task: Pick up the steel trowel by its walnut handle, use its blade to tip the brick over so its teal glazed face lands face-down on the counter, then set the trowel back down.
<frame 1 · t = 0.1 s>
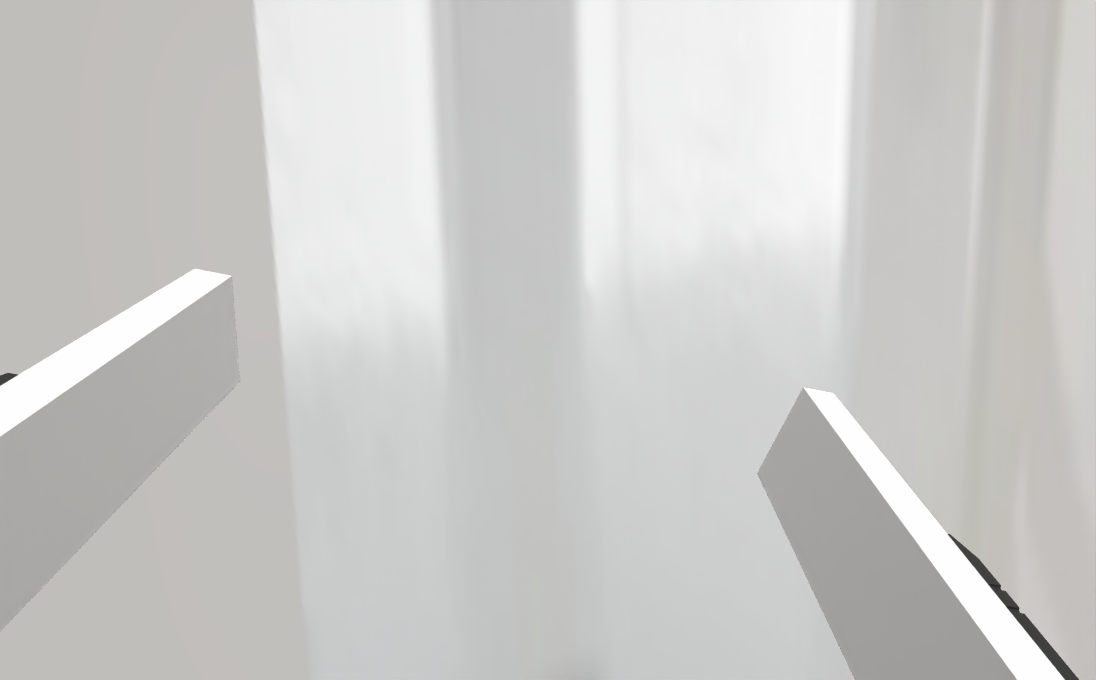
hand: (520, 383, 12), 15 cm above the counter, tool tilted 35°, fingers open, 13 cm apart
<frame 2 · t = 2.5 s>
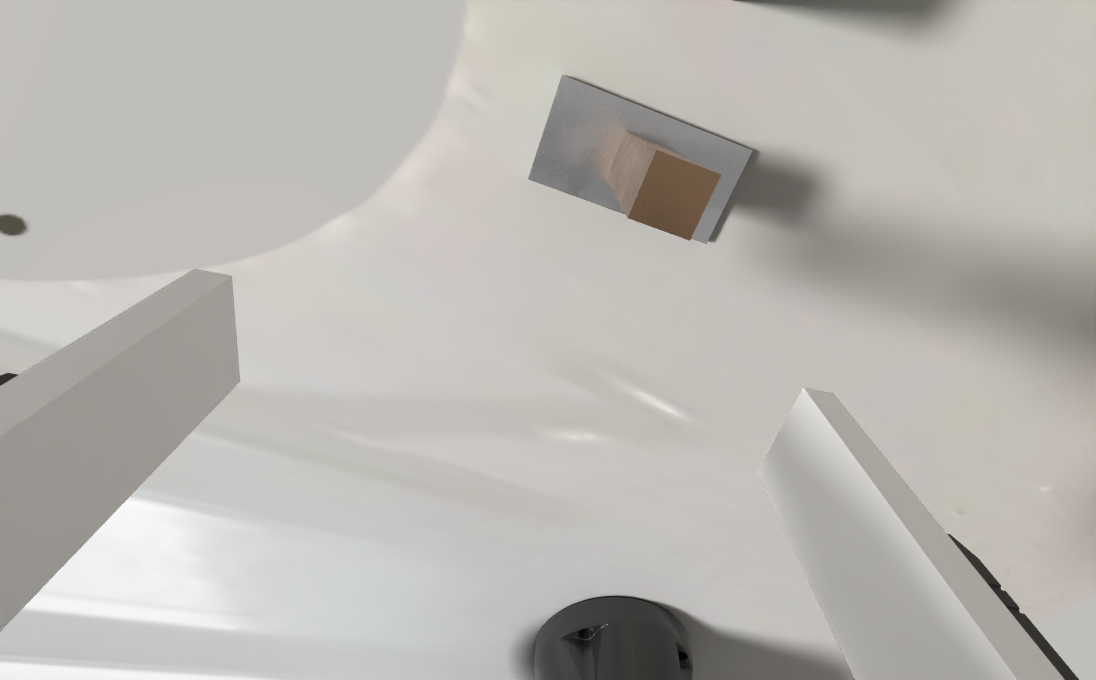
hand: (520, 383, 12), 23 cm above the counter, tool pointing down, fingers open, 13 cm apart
trowel: (636, 162, 33), on the counter
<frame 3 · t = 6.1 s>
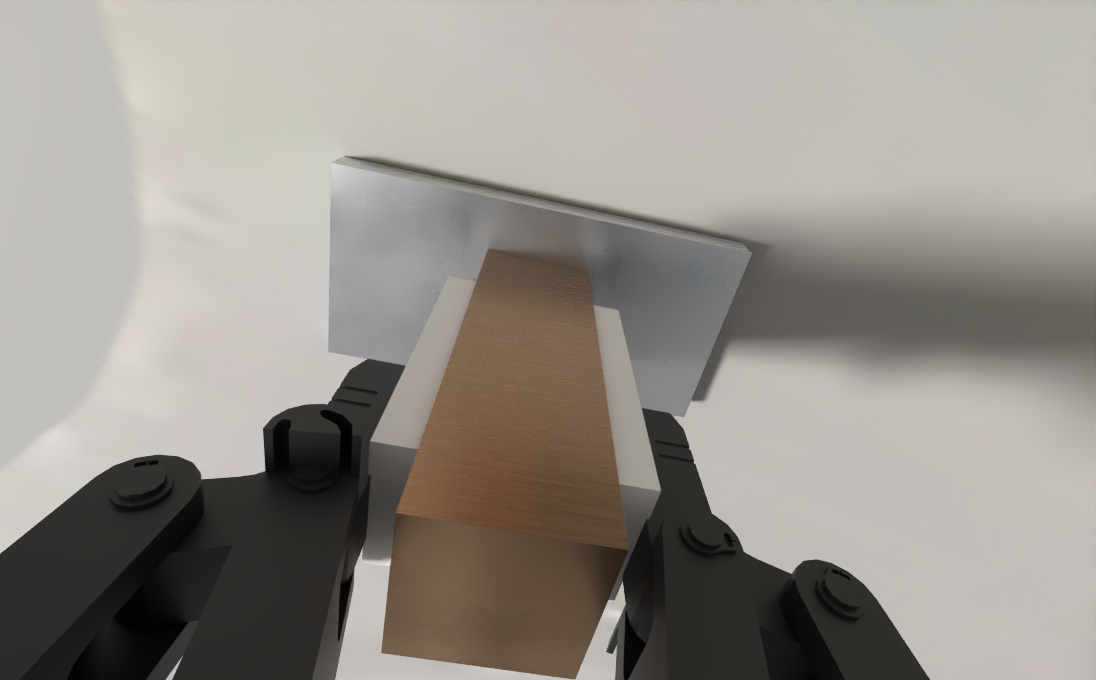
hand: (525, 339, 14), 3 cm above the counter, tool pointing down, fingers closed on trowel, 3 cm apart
trowel: (530, 292, 17), on the counter, touching gripper
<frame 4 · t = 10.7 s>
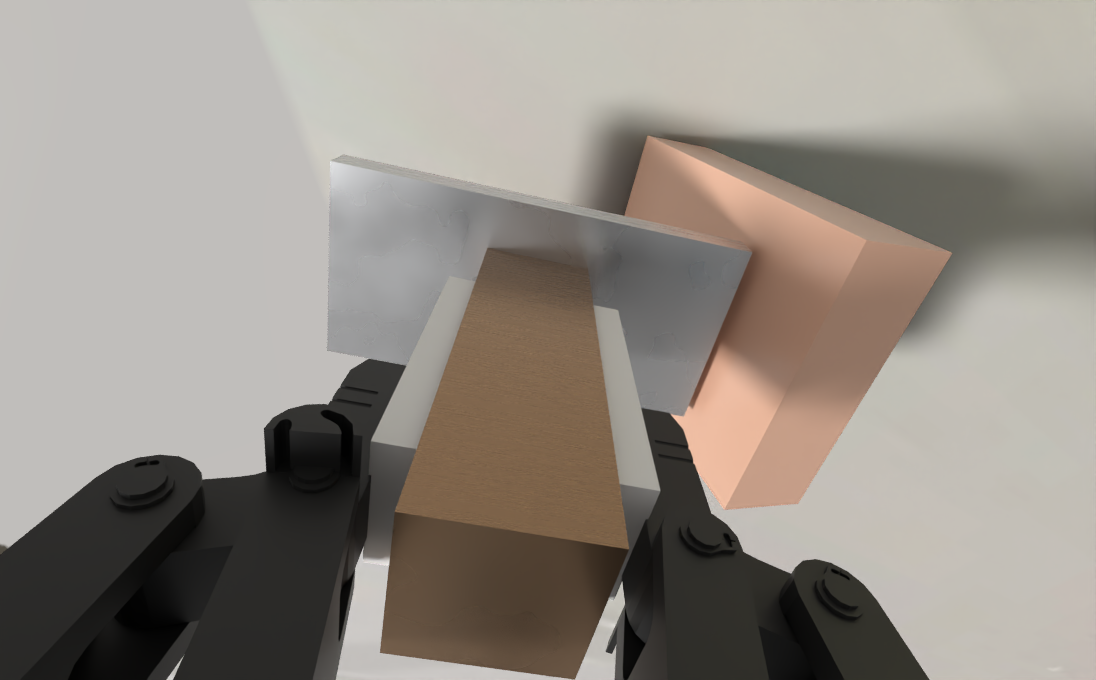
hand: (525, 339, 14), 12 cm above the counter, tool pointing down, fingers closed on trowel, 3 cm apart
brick: (646, 240, 25), on the counter, tilted 17°
trowel: (529, 291, 17), point 9 cm above the counter, touching gripper
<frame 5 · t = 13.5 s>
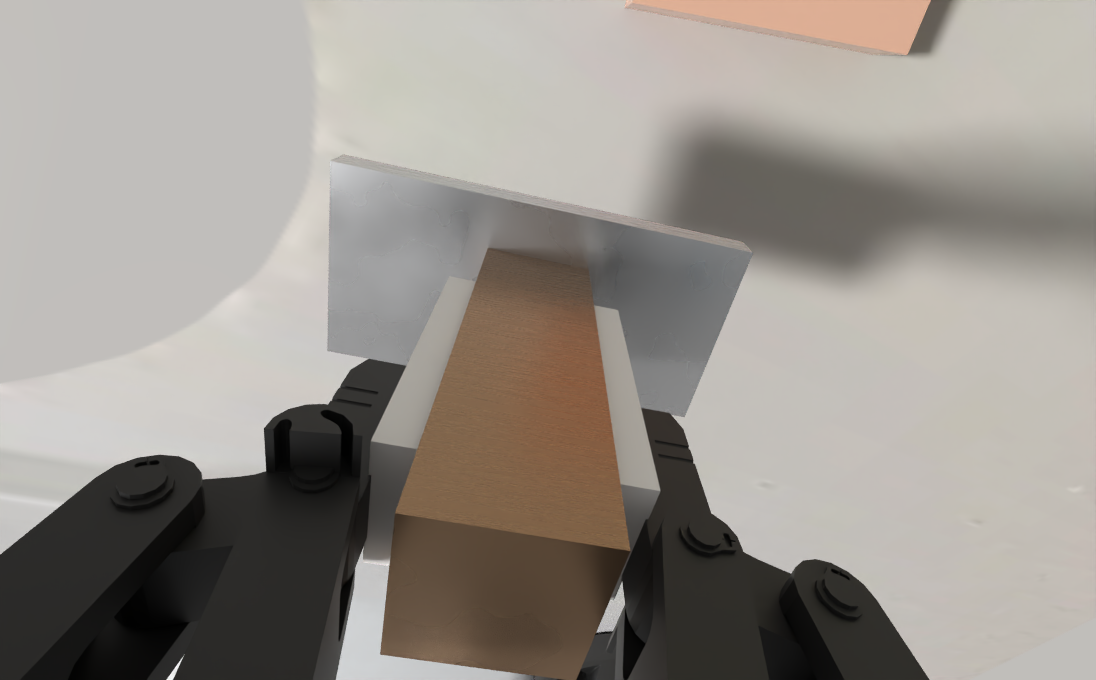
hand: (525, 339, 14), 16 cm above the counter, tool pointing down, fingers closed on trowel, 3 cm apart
trowel: (530, 291, 17), point 13 cm above the counter, touching gripper
when the fingers open (4 cm above the counter, at t = 15.8 s): trowel drops 1 cm, on the counter.
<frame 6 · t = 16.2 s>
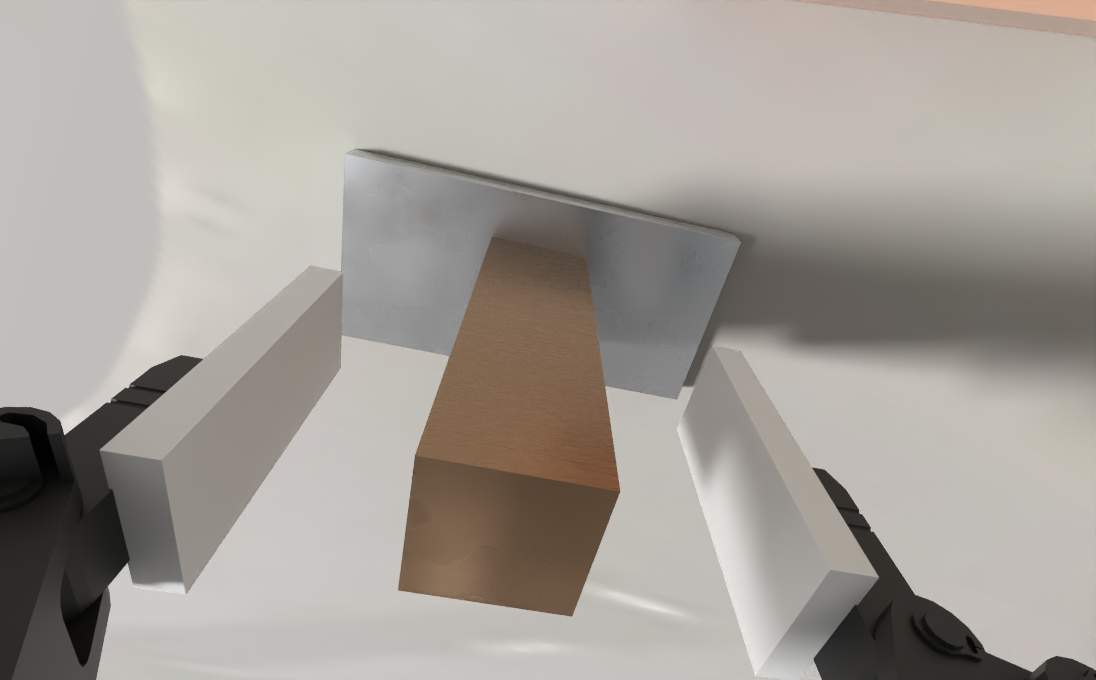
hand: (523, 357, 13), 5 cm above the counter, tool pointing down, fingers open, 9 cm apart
trowel: (531, 279, 18), on the counter
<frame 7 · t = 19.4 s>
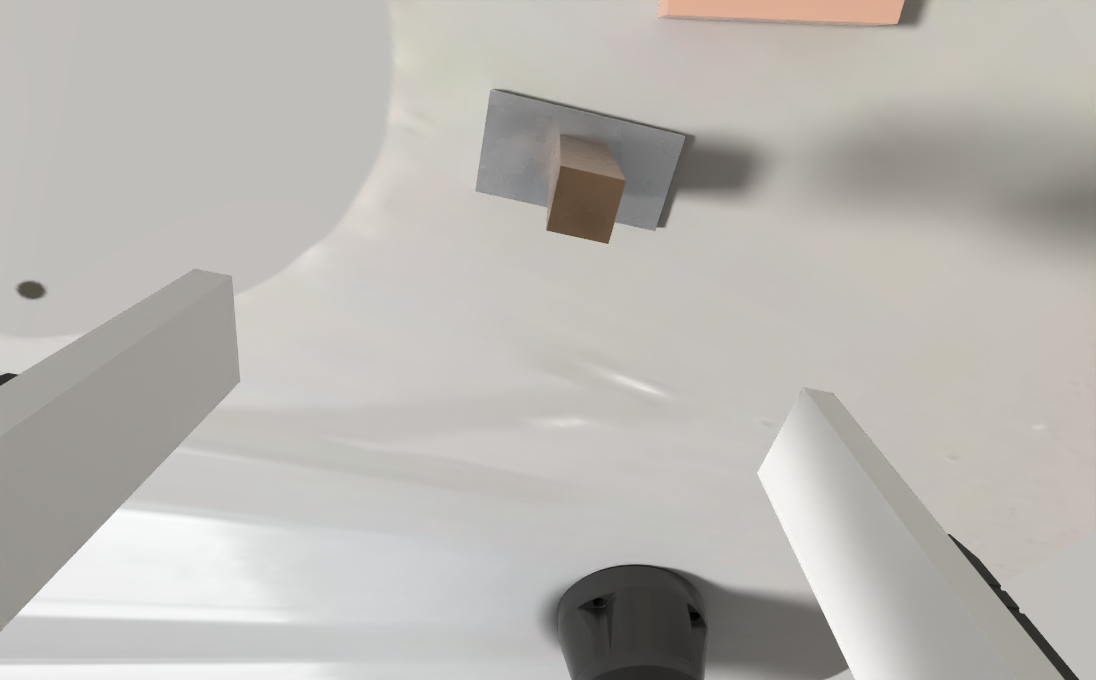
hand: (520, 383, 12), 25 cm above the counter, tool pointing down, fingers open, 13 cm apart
trowel: (577, 161, 34), on the counter
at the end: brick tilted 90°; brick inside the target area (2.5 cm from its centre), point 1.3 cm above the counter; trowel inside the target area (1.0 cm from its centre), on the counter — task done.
